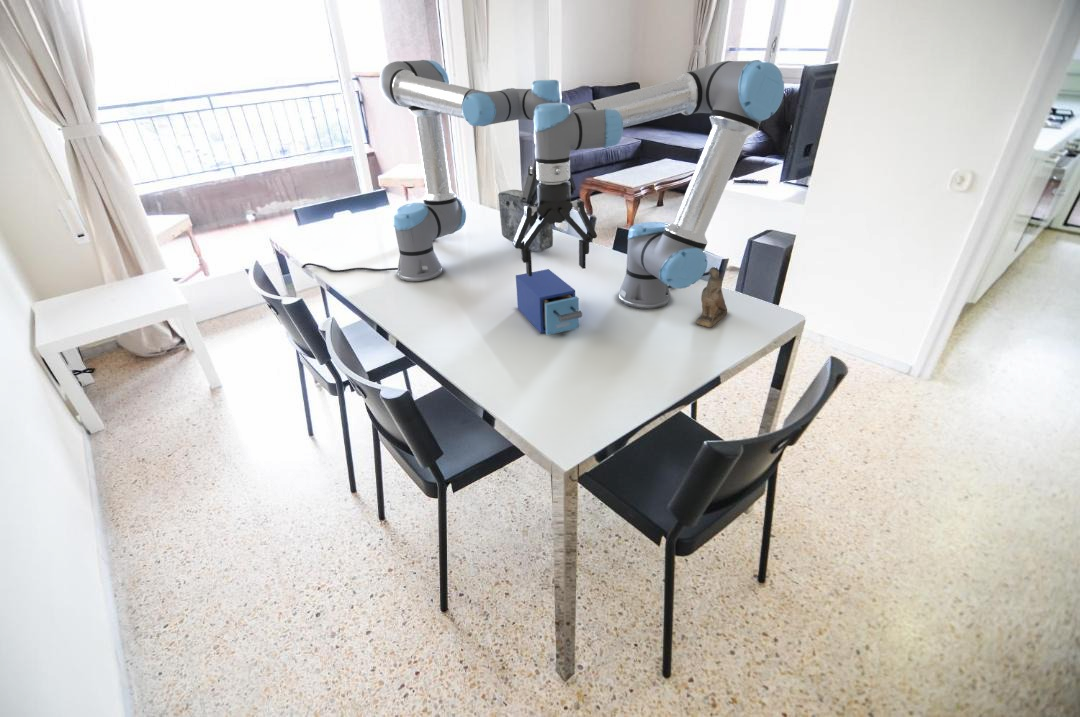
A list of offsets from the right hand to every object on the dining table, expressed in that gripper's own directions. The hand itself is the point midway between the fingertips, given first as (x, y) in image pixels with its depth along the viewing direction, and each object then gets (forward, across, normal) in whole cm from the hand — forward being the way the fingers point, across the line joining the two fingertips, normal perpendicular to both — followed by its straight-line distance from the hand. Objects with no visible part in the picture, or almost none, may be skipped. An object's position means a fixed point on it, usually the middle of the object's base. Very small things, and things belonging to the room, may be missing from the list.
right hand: (556, 270), depth 122 cm
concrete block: (+20, +10, +74) cm, 78 cm away
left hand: (-3, +7, +31) cm, 32 cm away
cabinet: (+20, 0, +14) cm, 24 cm away
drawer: (+19, +1, +8) cm, 20 cm away
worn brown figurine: (+20, +44, -2) cm, 49 cm away
